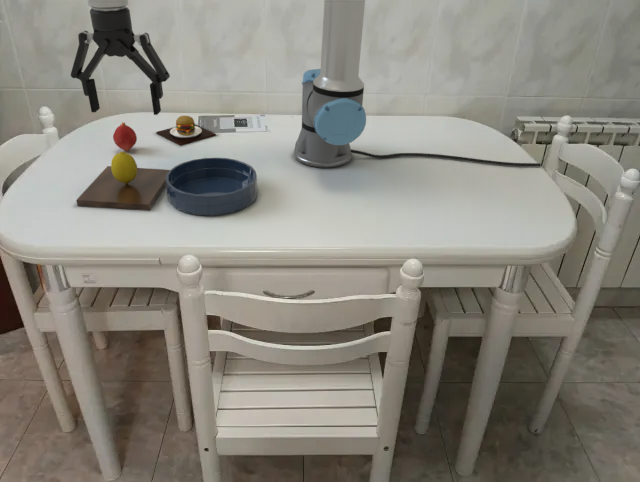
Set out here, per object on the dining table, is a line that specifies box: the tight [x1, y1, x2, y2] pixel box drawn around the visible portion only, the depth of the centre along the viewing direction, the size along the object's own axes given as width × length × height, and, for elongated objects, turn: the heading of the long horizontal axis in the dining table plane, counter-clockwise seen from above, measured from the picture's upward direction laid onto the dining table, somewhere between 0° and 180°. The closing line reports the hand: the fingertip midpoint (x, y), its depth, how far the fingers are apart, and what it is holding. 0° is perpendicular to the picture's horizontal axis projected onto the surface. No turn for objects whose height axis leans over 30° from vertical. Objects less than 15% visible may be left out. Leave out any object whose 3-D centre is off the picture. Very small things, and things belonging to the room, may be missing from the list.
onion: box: [112, 121, 138, 152], centre depth 146 cm, size 6×6×8 cm
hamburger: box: [156, 115, 217, 147], centre depth 159 cm, size 12×12×6 cm
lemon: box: [110, 150, 138, 184], centre depth 127 cm, size 6×6×8 cm
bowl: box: [165, 157, 258, 217], centre depth 128 cm, size 20×20×5 cm
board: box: [75, 165, 171, 211], centre depth 129 cm, size 16×18×2 cm
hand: (126, 111), depth 121 cm, fingers open, 13 cm apart
